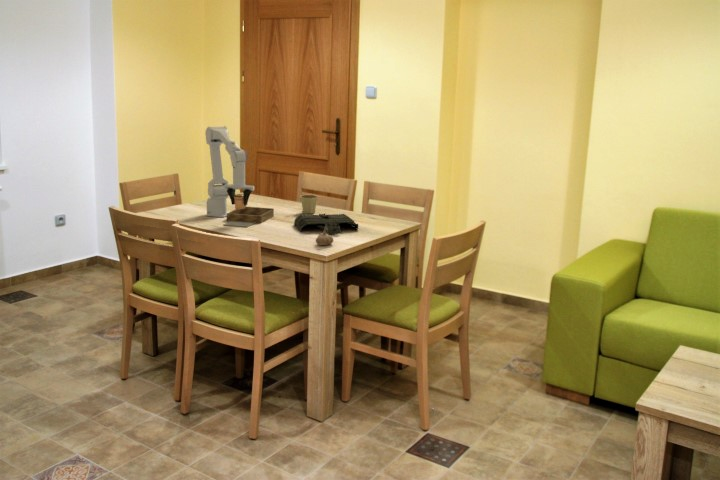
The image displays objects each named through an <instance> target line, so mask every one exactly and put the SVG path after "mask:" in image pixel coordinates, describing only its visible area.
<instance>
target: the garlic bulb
mask: <svg viewBox="0 0 720 480" xmlns="http://www.w3.org/2000/svg"><path fill="white" fill-rule="evenodd" d="M333 242H334V237H333V236H332V235H331V234H328V233H327V227H326V226H324V229H323V232H321V233H319V234H318V235H317V237H316V238H315V243H316V244H317V245H318V246H320V245H326V246H328V245H330V244H333Z"/></svg>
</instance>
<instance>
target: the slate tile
mask: <svg viewBox="0 0 720 480" xmlns="http://www.w3.org/2000/svg"><path fill="white" fill-rule="evenodd" d="M254 224H255V223H254V222H241V221H227V222H226V223H224V224H223V226H224V227H236V228H237V227H238V228H250V227H252V226H253V225H254Z"/></svg>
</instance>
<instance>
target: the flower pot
mask: <svg viewBox="0 0 720 480" xmlns="http://www.w3.org/2000/svg"><path fill="white" fill-rule="evenodd" d="M299 198H300V201H301V207H302V208H301V209H302V211H303V212H302V213H303V214H306V215H314V214H315V213H316V207H317V201H318V199H319V195H316V194H303V195H302V194H301V195H299Z"/></svg>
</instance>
